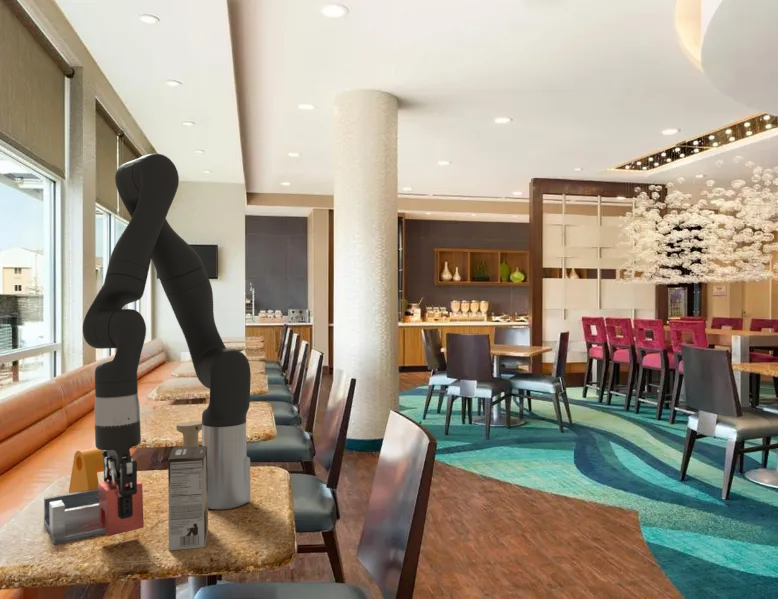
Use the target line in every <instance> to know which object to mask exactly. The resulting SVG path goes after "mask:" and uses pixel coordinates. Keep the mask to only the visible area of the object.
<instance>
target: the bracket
mask: <svg viewBox="0 0 778 599" xmlns="http://www.w3.org/2000/svg"><path fill="white" fill-rule="evenodd" d="M102 452H103V450H99V449H97V448H96V447H91V448H86V449H85V448H84V449H80V450H76V451H75V453H74V457H73V460H72V461H73V464H72V468H71V476H70V481H69V487H68V494H69V493H75V492H81V491H86V490H92V489H98V483H100V482H99V477H98V473H102V472H103V473H104V469H103V455H102Z"/></svg>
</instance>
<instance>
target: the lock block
mask: <svg viewBox="0 0 778 599" xmlns="http://www.w3.org/2000/svg"><path fill="white" fill-rule="evenodd" d="M128 488H129V486H128V484H127V483H126V484H125V489H128ZM98 494H99V524H100V528H101V529H105V528H106V534H105V535H106V537H112V536H116V535H120V534H125V533H127V532H131V531H135V530H139V529H144V526H145V524H144V523H145V522H144V499H143V498H144V497H143V496H144V494H143V482H141V481H140V480H139V479H137V493H136V494H134V495H132V502H133V515H132V516H131V517H129V518H125V519H121V518H120V517H119V509H118V496H117V487H116V486H115V485H113V481H106V482H104V481H101V482H99V483H98Z"/></svg>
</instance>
